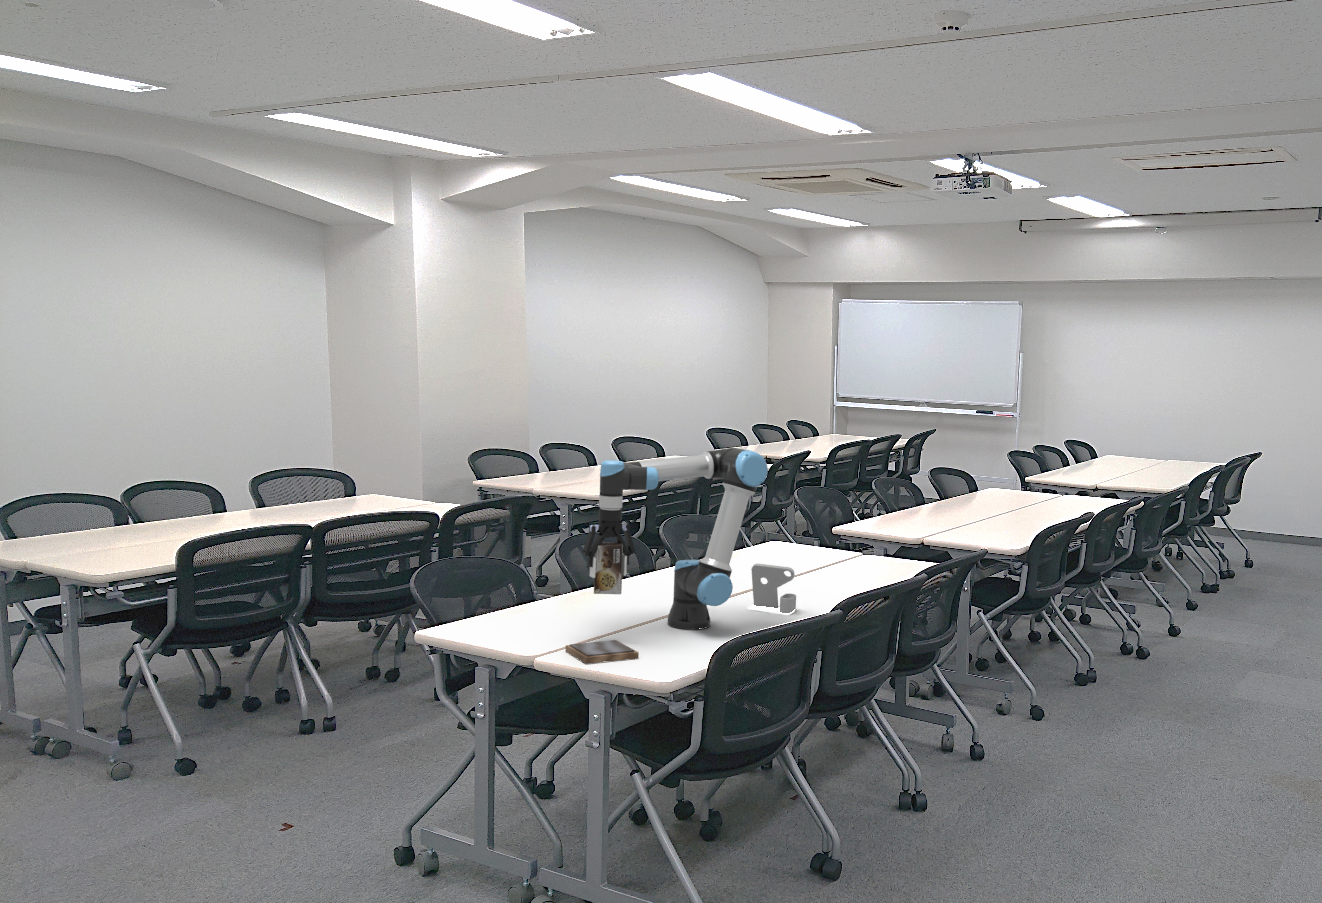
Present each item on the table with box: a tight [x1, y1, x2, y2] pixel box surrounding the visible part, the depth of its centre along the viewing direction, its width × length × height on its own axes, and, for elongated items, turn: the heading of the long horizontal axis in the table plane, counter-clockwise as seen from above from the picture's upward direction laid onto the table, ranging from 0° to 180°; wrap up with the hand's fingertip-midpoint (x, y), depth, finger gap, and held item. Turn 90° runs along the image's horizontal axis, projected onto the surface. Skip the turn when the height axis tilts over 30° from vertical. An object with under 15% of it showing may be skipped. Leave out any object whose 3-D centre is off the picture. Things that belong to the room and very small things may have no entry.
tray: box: [565, 639, 640, 664], centre depth 337 cm, size 18×15×2 cm
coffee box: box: [593, 541, 624, 595], centre depth 351 cm, size 9×6×16 cm
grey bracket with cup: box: [751, 563, 797, 613], centre depth 408 cm, size 17×10×18 cm, turn 67°
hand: (607, 575), depth 351 cm, fingers closed on coffee box, 10 cm apart
